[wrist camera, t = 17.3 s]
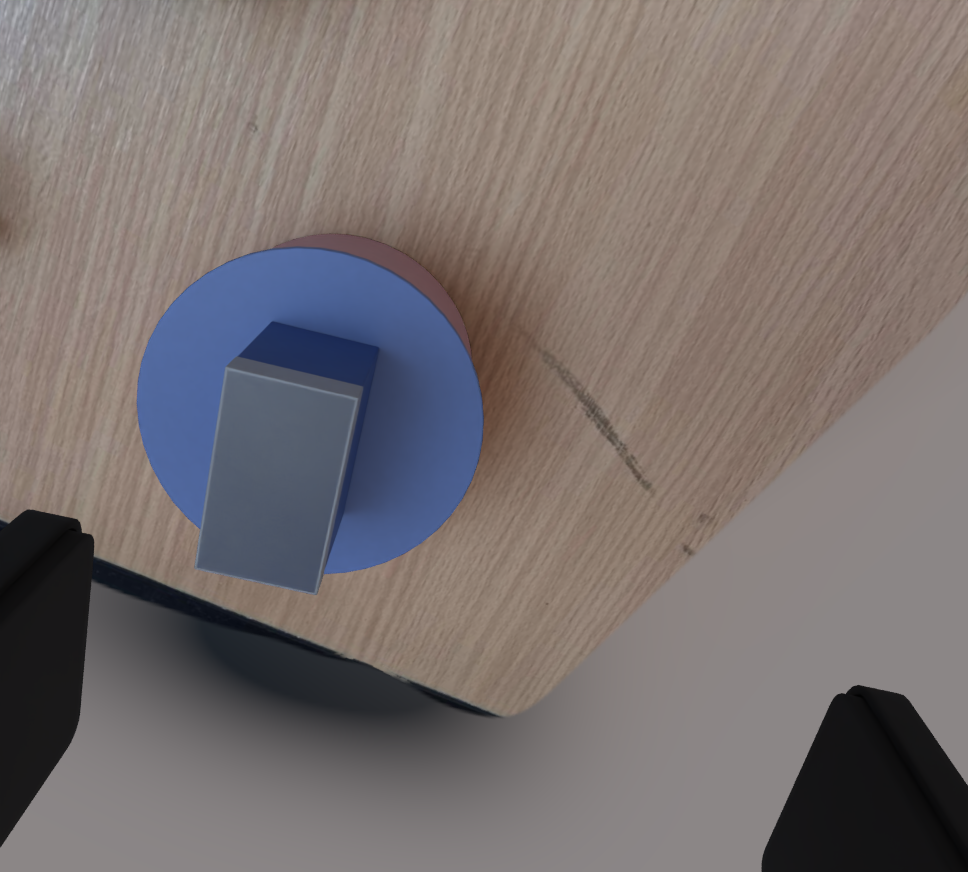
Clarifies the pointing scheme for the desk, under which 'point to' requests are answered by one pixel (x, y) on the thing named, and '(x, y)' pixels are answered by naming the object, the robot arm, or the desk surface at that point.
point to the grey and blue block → (284, 456)
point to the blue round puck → (393, 396)
